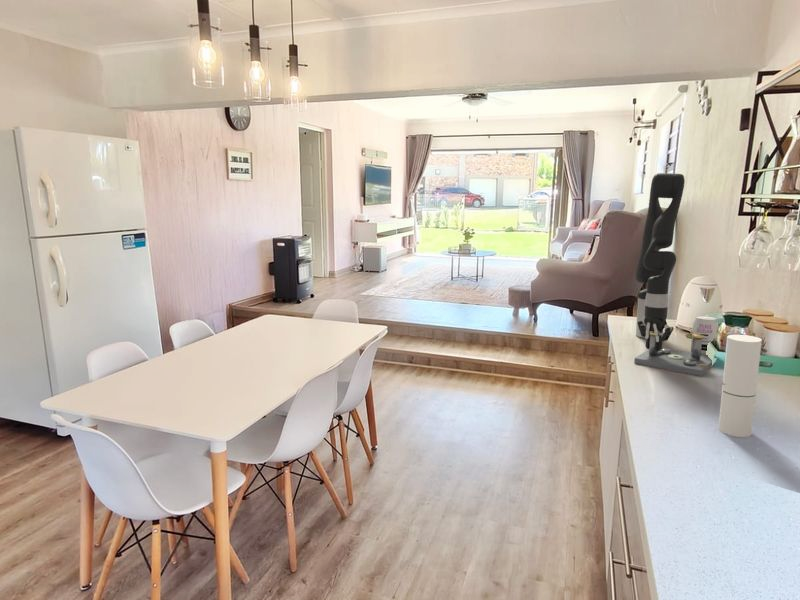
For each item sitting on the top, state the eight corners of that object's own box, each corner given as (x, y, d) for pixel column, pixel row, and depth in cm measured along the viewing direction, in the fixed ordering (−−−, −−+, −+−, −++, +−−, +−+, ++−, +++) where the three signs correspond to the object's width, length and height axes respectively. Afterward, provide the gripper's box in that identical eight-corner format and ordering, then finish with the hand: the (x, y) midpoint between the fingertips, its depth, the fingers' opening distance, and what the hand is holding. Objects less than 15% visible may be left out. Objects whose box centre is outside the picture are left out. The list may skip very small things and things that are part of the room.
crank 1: (663, 350, 191) (664, 327, 190) (673, 353, 188) (674, 329, 186) (645, 355, 186) (646, 331, 185) (654, 357, 183) (656, 333, 181)
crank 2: (694, 366, 172) (696, 341, 170) (681, 364, 175) (683, 339, 173) (703, 359, 179) (705, 335, 178) (690, 357, 182) (692, 333, 181)
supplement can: (708, 352, 194) (711, 315, 191) (719, 358, 186) (723, 320, 183) (686, 352, 195) (689, 315, 192) (697, 358, 187) (700, 320, 184)
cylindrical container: (746, 426, 130) (756, 335, 126) (755, 438, 124) (766, 342, 119) (715, 423, 133) (723, 333, 128) (722, 435, 126) (732, 341, 121)
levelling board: (653, 351, 197) (653, 345, 197) (716, 362, 182) (717, 355, 182) (634, 363, 184) (634, 356, 183) (700, 376, 168) (701, 369, 168)
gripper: (681, 306, 177) (677, 352, 181) (646, 301, 190) (643, 344, 193) (667, 309, 174) (664, 356, 177) (633, 303, 187) (630, 347, 190)
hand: (653, 349), depth 185 cm, fingers closed on crank 1, 3 cm apart
